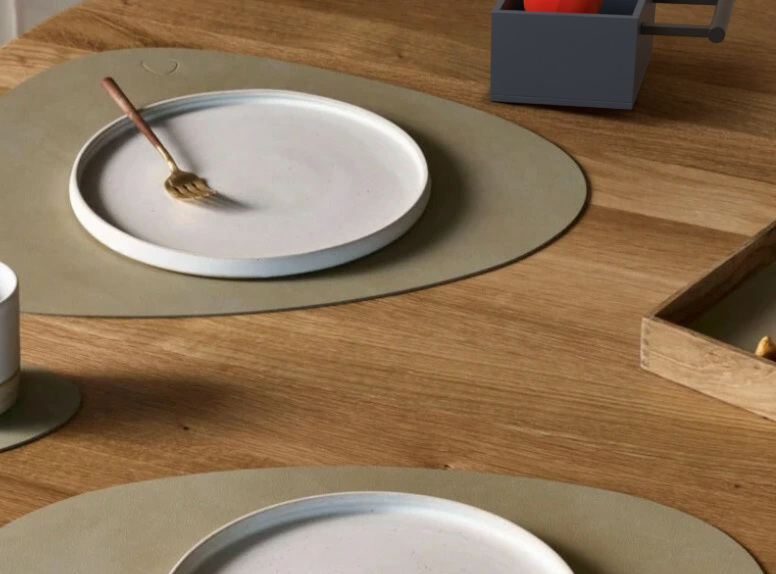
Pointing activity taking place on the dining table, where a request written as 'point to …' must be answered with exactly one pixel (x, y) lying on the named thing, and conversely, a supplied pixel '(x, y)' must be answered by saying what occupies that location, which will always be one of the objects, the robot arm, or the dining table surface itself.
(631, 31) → the handled storage bin
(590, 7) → the tomato
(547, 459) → the dining table surface
